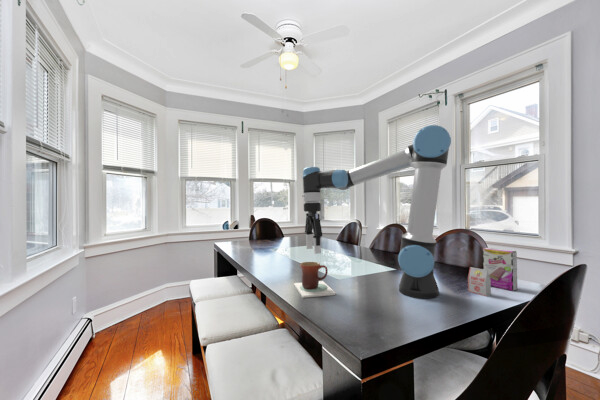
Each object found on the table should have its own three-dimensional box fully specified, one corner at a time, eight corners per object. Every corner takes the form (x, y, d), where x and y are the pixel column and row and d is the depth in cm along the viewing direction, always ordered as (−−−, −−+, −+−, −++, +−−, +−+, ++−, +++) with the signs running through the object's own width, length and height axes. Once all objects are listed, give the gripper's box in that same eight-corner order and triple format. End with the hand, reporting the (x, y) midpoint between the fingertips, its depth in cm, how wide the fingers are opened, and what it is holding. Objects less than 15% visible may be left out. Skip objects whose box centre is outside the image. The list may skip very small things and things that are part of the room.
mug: (299, 290, 112) (298, 266, 112) (301, 284, 121) (300, 261, 121) (327, 290, 111) (327, 266, 111) (327, 284, 120) (327, 261, 120)
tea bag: (473, 290, 112) (472, 266, 112) (490, 294, 106) (490, 269, 106) (468, 291, 110) (467, 267, 111) (485, 296, 104) (485, 270, 105)
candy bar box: (483, 285, 119) (481, 248, 119) (487, 283, 121) (486, 247, 122) (513, 291, 109) (512, 251, 110) (518, 289, 112) (516, 250, 112)
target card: (335, 294, 109) (335, 292, 109) (302, 297, 106) (302, 295, 106) (322, 282, 127) (322, 280, 127) (294, 284, 124) (294, 282, 124)
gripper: (298, 203, 129) (299, 247, 128) (311, 202, 104) (312, 256, 104) (313, 202, 130) (314, 246, 130) (329, 201, 106) (330, 255, 105)
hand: (313, 250), depth 117 cm, fingers open, 13 cm apart
